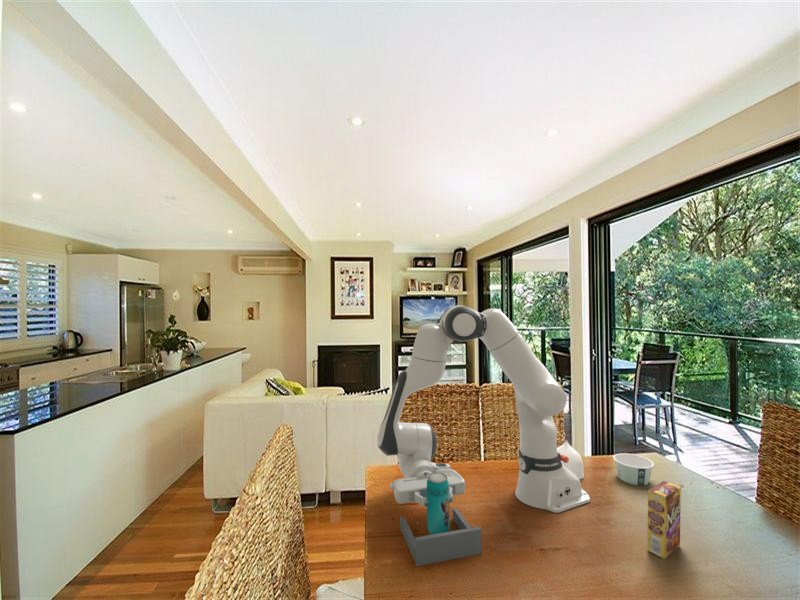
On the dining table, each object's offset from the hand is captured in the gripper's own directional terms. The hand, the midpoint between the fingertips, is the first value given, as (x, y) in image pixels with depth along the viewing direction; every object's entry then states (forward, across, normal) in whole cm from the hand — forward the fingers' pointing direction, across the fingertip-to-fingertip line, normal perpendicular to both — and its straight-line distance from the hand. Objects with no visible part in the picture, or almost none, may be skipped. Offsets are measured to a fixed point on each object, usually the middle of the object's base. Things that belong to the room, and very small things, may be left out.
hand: (438, 501), depth 99 cm
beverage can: (0, 0, +9) cm, 9 cm away
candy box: (+19, +53, +10) cm, 57 cm away
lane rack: (0, 0, +10) cm, 10 cm away
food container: (-13, +77, +11) cm, 79 cm away
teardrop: (-23, +58, +11) cm, 63 cm away
